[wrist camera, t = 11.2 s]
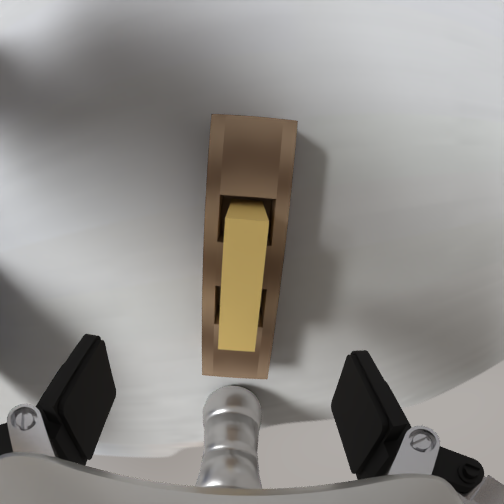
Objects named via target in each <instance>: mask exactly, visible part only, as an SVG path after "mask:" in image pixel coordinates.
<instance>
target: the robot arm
mask: <svg viewBox="0 0 504 504" xmlns="http://www.w3.org/2000/svg"><path fill="white" fill-rule="evenodd" d="M115 397H116V388H115V384H114V381H113V377H112V373H111V368H110V364H109V360H108V356H107V351H106V346H105V342H104V341H103V340H101V338H100V337H99V336H96V335H90V334H85V335H84V336H83V338H82V339H81V340H80V342H79V343H78V345H77V346H76V347H75V349H74V350H73V352H72V353H71V355H70V356H69V358H68V359H67V361H66V362H65V363H64V364H63V365H62V366H61V368H60V369H59V371H58V372H57V374H56V375H55V377H54V378H53V380H52V382H51V383H50V385H49V386H48V388H47V389H46V391H45V392H44V394H43V396H42V397H41V399H40V400H39V402H38V404H37V405H36V407H35V406H33V405H30V404H20V405H18V406H15V407H14V408H13V409H11V411H10V412H9V414H8V416H7V423H5V424H1V425H0V504H504V485H503V484H501V483H500V482H498V481H497V480H495V479H494V478H492V477H491V476H490V475H488V476H487V477H485V476H484V470H483V467H482V465H481V464H480V463H479V462H478V461H477V460H475V459H472V458H470V457H467V456H464V455H461V454H459V453H456V452H453V451H451V450H448V449H446V448H443V447H441V446H440V440H439V436H438V435H437V433H436V432H434V431H433V430H432V429H430V428H428V427H425V426H415V427H411V426H410V424H409V422H408V420H407V418H406V416H405V414H404V413H403V411H402V409H401V407H400V405H399V403H398V402H397V400H396V398H395V396H394V394H393V393H392V391H391V389H390V387H389V385H388V384H387V382H386V381H384V379H383V377H382V375H381V374H380V372H379V370H378V368H377V366H376V365H375V363H374V361H373V359H372V358H371V356H370V354H369V353H368V351H366V350H364V351H352V353H351V355H348V356H347V357H346V360H345V364H344V367H343V370H342V373H341V376H340V379H339V382H338V385H337V388H336V391H335V394H334V396H333V399H332V402H331V409H332V412H333V416H334V419H335V422H336V425H337V428H338V431H339V434H340V437H341V440H342V443H343V447H344V450H345V453H346V456H347V459H348V462H349V466H350V469H351V472H352V473H353V474H356V476H357V479H358V480H355V481H348V482H341V483H335V484H326V485H318V486H307V487H295V488H278V489H226V488H208V487H196V486H186V485H177V484H170V483H163V482H156V481H150V480H145V479H139V478H134V477H129V476H124V475H120V474H116V473H111V472H108V471H103V470H99V469H96V468H92V467H88V466H85V465H86V462H87V459H88V460H90V459H91V458H92V456H93V453H94V451H95V448H96V445H97V442H98V440H99V437H100V435H101V432H102V429H103V427H104V424H105V422H106V419H107V417H108V414H109V412H110V409H111V407H112V404H113V402H114V399H115ZM74 462H75V463H74Z"/></svg>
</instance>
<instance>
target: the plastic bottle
mask: <svg viewBox="0 0 504 504" xmlns="http://www.w3.org/2000/svg"><path fill="white" fill-rule="evenodd" d="M261 419H262V410H261V406H260V403H259V400H258V398H257V397H256V396H255V395H254V394H253V393H252V392H251V391H249V390H248V389H246V388H243V387H240V386H225V387H222V388H219V389H217V390H216V391H214V392H213V393H212V394H210V395H209V397H208V398H207V401H206V403H205V406H204V408H203V425H204V452H203V458H202V462H201V468H200V473H199V476H198V479H197V482H196V487H208V488H226V489H262V485H261V480H260V476H259V467H258V456H257V449H258V435H259V429H260V425H261Z"/></svg>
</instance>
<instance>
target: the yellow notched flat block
mask: <svg viewBox="0 0 504 504" xmlns="http://www.w3.org/2000/svg"><path fill="white" fill-rule="evenodd" d="M268 227H269V220H268V217H267V214H266V211H265V208H264V205H263V202H262V201H256V200H244V199H232V200H231V203H230V206H229V208H228V211H227V214H226V217H225V228H224V243H223V259H222V277H221V296H220V316H219V339H218V349H222V350H235V351H249V352H255V345H256V336H257V328H258V319H259V310H260V301H261V292H262V283H263V274H264V265H265V256H266V246H267V237H268Z"/></svg>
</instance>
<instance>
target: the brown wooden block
mask: <svg viewBox="0 0 504 504" xmlns="http://www.w3.org/2000/svg"><path fill="white" fill-rule="evenodd" d="M297 122H298V121H294V120H285V119H276V118H266V117H255V116H241V115H223V114H212V115H211V127H210V139H209V153H208V167H207V183H206V201H205V222H204V247H203V284H202V375H208V376H219V377H233V378H250V379H267V378H268V371H269V365H270V358H271V351H272V344H273V337H274V330H275V322H276V315H277V307H278V300H279V292H280V284H281V276H282V268H283V260H284V251H285V243H286V234H287V225H288V216H289V207H290V197H291V187H292V177H293V167H294V156H295V145H296V134H297ZM232 199H244V200H256V201H262V202H263V205H264V208H265V211H266V214H267V217H268V220H269V227H268V237H267V246H266V256H265V265H264V274H263V283H262V292H261V301H260V310H259V319H258V328H257V336H256V345H255V352H249V351H235V350H222V349H218V339H219V316H220V296H221V277H222V259H223V243H224V228H225V217H226V214H227V211H228V208H229V206H230V203H231V200H232Z"/></svg>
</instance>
